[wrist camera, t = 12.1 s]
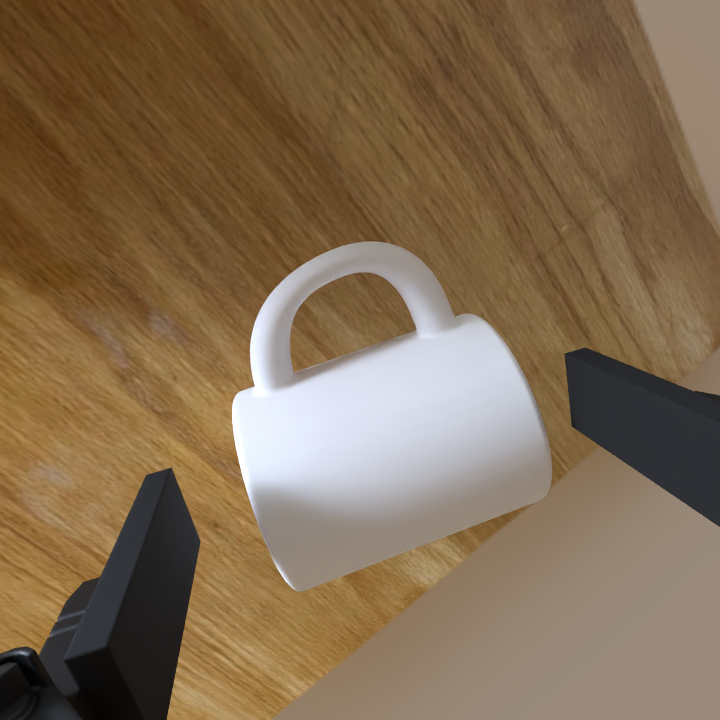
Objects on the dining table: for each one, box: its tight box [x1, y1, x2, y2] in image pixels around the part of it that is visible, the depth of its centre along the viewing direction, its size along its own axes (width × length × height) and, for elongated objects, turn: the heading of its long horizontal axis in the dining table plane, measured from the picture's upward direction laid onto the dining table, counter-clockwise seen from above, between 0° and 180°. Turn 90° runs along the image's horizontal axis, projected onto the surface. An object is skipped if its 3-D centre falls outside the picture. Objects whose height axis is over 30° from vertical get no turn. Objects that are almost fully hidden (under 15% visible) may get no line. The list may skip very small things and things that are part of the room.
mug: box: [232, 241, 552, 592], centre depth 19 cm, size 12×10×8 cm
